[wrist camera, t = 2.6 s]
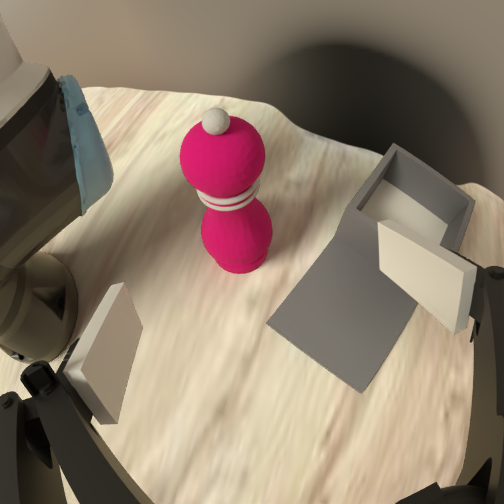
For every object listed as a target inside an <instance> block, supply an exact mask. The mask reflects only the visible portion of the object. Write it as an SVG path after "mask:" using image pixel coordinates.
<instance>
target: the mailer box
mask: <svg viewBox="0 0 504 504" xmlns="http://www.w3.org/2000/svg"><path fill="white" fill-rule="evenodd" d="M474 205H475V200H474V199H472V198H471V197H470V196H469V195H467V194H466V193H465V192H464V191H462V190H461V189H460V188H459V187H457V186H456V185H455V184H453V183H452V182H451V181H449V180H448V179H447V178H445V177H444V176H442V175H441V174H440V173H438V172H437V171H435V170H434V169H433V168H431V167H429V166H428V165H427V164H425V163H424V162H422V161H421V160H419V159H417V158H416V157H415V156H413V155H412V154H410V153H409V152H407V151H405V150H404V149H403V148H401V147H399V146H398V145H396V144H395V143H393V144H392V146H391V147H390V148H389V150H388V151H387V153H386V154H385V155H384V157H383V158H382V160H381V161H380V162H379V164H378V165H377V167H376V168H375V169H374V171H373V172H372V174H371V175H370V176H369V178H368V179H367V180H366V182H365V183H364V184H363V186H362V187H361V189H360V190H359V191H358V193H357V194H356V195H355V197H354V198H353V199H352V201H351V202H350V203H349V205H348V206H347V207H346V209H345V211H344V214H343V216H342V218H341V221H340V223H339V226H338V228H337V231H336V233H335V236H334V237H333V239H332V240H331V241H330V243H329V244H328V245H327V247H326V248H325V249H324V250H323V252H322V253H321V254H320V256H319V257H318V258H317V260H316V261H315V262H314V263H313V265H312V266H311V267H310V269H309V270H308V271H307V273H306V274H305V275H304V276H303V278H302V279H301V280H300V281H299V283H298V284H297V285H296V286H295V288H294V289H293V290H292V292H291V293H290V294H289V295H288V297H287V298H286V299H285V300H284V301H283V303H282V304H281V305H280V306H279V308H278V309H277V310H276V311H275V313H274V314H273V315H272V316H271V317H270V319H269V320H268V321H267V322H266V324H267V325H269V326H270V327H271V328H272V329H274V330H275V331H276V332H278V333H279V334H280V335H282V336H283V337H284V338H286V339H287V340H288V341H289V342H291V343H292V344H293V345H295V346H296V347H297V348H299V349H300V350H301V351H303V352H304V353H305V354H307V355H308V356H309V357H311V358H312V359H313V360H315V361H316V362H318V363H319V364H320V365H322V366H323V367H324V368H326V369H327V370H328V371H330V372H331V373H333V374H334V375H335V376H337V377H338V378H340V379H341V380H342V381H344V382H345V383H346V384H348V385H349V386H351V387H352V388H354V389H355V390H356V391H358V392H359V393H362V392H363V391H364V389H365V388H366V387H367V385H368V384H369V382H370V381H371V379H372V378H373V376H374V375H375V373H376V372H377V370H378V369H379V367H380V366H381V364H382V363H383V361H384V360H385V358H386V357H387V355H388V353H389V352H390V350H391V349H392V347H393V345H394V344H395V342H396V340H397V339H398V337H399V335H400V334H401V332H402V330H403V329H404V327H405V325H406V323H407V322H408V320H409V318H410V316H411V314H412V313H413V311H414V309H415V307H416V305H417V303H418V302H417V301H416V300H415V299H414V298H412V297H411V296H410V295H409V294H408V293H407V292H405V291H404V290H403V289H402V288H401V287H400V286H398V285H397V284H396V283H395V282H394V281H393V280H391V279H390V278H389V277H388V276H387V275H385V274H384V273H383V272H382V271H381V270H380V266H379V239H378V222H380V221H384V220H388V219H390V220H392V221H394V222H396V223H398V224H400V225H402V226H404V227H406V228H408V229H410V230H412V231H414V232H416V233H418V234H419V235H421V236H423V237H425V238H427V239H429V240H431V241H433V242H434V243H436V244H438V245H440V246H442V247H443V248H446V249H449V250H453V251H455V252H457V253H458V250H459V248H460V245H461V242H462V240H463V237H464V234H465V232H466V229H467V226H468V223H469V220H470V217H471V214H472V211H473V208H474Z"/></svg>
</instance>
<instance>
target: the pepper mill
mask: <svg viewBox="0 0 504 504" xmlns="http://www.w3.org/2000/svg"><path fill="white" fill-rule="evenodd" d="M264 162H265V149H264V144H263V141H262V139H261V137H260V135H259V133H258V132H257V130H256V129H255V128H254V127H253V126H252V125H251V124H249V123H248V122H246V121H245V120H243V119H240V118H238V117H234V116H229V115H228V113H227V112H226V111H224V110H222V109H220V108H213V109H210V110H208V111H207V112H206V113H205V114H204V115H203V118H202V121H201V122H199V123H197V124H196V125H195V126H194V127H193V128H191V129H190V131H189V132H188V133H187V135H186V136H185V138H184V140H183V143H182V145H181V150H180V164H181V168H182V171H183V174H184V176H185V177H186V179H187V181H188V182H189V183H190V184H191V185H192V186H193V187H194V188H196V190H197V193H198V196H199V198H200V200H201V201H202V202H203V203H204V204H205V205H206V206H208V208H207V210H206V211H205V214H204V216H203V220H202V225H201V235H202V239H203V243H204V246H205V248H206V250H207V251H208V253H209V254H210V255H211V256H212V257H213V258H215V260H216V262H217V263H218V264H219V266H220V267H222V268H223V269H224V270H226V271H228V272H231V273H236V274H242V273H248V272H251V271H253V270H255V269H256V268H258V267H259V266H260V265H261V264H262V262H263V261H264V260H265V258H266V255H267V251H268V247H269V245H270V242H271V239H272V224H271V219H270V216H269V214H268V212H267V210H266V209H265V207H264V206H263V205H262V203H261V202H260V201H259V200H257V199H256V198H255V196H256V194H257V192H258V189H259V183H260V182H259V175H260V174H261V172H262V170H263V166H264Z"/></svg>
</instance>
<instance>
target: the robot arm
mask: <svg viewBox="0 0 504 504" xmlns="http://www.w3.org/2000/svg"><path fill="white" fill-rule="evenodd" d="M88 109H89V107H88V105H87V103H86V100H85V97H84V94H83V92H82V90H81V88H80V86H79V84H78V82H77V80H76V79H75V78H74V77H73V76H72V75H67V76H61V77H60V78H58V79H57V81H56V80H55V78H54V76H53V74H52V72H51V70H50V68H49V67H48V65H44V64H37V63H29V62H25V61H24V60H23V59H22V57H21V55H20V53H19V51H18V49H17V48H16V46H15V44H14V42H13V40H12V38H11V36H10V34H9V32H8V29H7V27H6V26H5V23H4V21H3V19H2V17H1V15H0V349H1V350H3V351H4V352H5V353H6V354H8V355H9V356H10V357H12V358H13V359H15V360H17V361H19V362H23V363H27V364H31V365H29V366H28V367H27V368H26V369H25V370H24V371H23V372H22V374H21V378H20V380H21V382H22V383H23V385H24V386H25V387H26V389H27V390H28V392H29V393H30V394H31V396H32V397H31V398H28V399H25V400H22V399H21V398H20V397H19V395H18V394H17V393H16V392H12V391H11V392H7V393H5V394H3V395H1V396H0V504H67V501H66V496H65V492H64V488H63V483H62V478H61V473H60V467H61V469H62V471H63V473H64V475H65V477H66V479H67V481H68V483H69V485H70V487H71V489H72V491H73V492H74V494H75V496H76V498H77V500H78V501H79V503H80V504H154V503H153V502H152V501H151V500H150V499H149V497H148V496H147V495H146V494H145V493H144V492H143V491H142V489H141V488H140V487H139V486H138V485H137V484H136V482H135V481H134V480H133V479H132V478H131V476H130V475H129V474H128V473H127V471H126V470H125V469H124V468H123V466H122V465H121V464H120V462H119V461H118V460H117V458H116V457H115V456H114V454H113V453H112V452H111V450H110V449H109V448H108V446H107V445H106V443H105V442H104V441H103V439H102V438H101V436H100V435H99V433H98V432H97V430H96V429H95V427H94V426H93V425H92V424H91V419H92V416H94V417H95V418H96V419H97V421H98V422H99V423H100V424H101V425H104V424H118V419H119V415H120V411H121V407H122V403H123V399H124V395H125V391H126V387H127V383H128V379H129V375H130V372H131V368H132V364H133V361H134V357H135V354H136V350H137V347H138V343H139V340H140V336H141V333H142V330H143V326H142V324H141V321H140V319H139V317H138V314H137V312H136V310H135V307H134V305H133V302H132V300H131V297H130V295H129V292H128V290H127V287H126V285H125V282H122V283H118V284H114V285H111V286H110V288H109V289H108V291H107V293H106V294H105V296H104V298H103V299H102V301H101V303H100V304H99V306H98V308H97V310H96V311H95V313H94V315H93V317H92V318H91V320H90V322H89V324H88V325H87V327H86V329H85V331H84V332H83V334H82V336H81V338H78V339H77V340H76V341H75V342H74V343H73V344H72V345H71V346H70V348H69V350H68V352H67V355H65V357H64V359H63V360H64V361H62V363H61V365H60V366H59V368H58V370H57V372H56V374H55V373H54V371H53V369H52V368H51V366H50V365H49V363H48V362H49V361H51V360H53V359H54V358H55V357H57V356H58V355H59V354H60V353H61V351H62V350H63V349H64V348H65V346H66V345H67V343H68V341H69V339H70V337H71V335H72V332H73V329H74V326H75V322H76V318H77V310H78V296H77V289H76V285H75V281H74V279H73V276H72V274H71V273H70V271H69V270H68V268H67V267H66V266H65V265H64V264H63V263H62V262H60V261H59V260H57V259H56V258H55V257H53V256H52V255H50V254H47V253H44V252H39V250H40V249H41V248H42V247H43V246H44V245H45V244H47V243H48V242H49V241H50V240H51V239H52V238H53V237H55V236H56V235H57V234H58V233H59V232H60V231H62V230H63V229H64V228H65V227H66V226H68V225H69V224H70V223H71V222H73V221H74V220H75V219H76V218H78V217H79V216H83V215H85V213H86V211H87V209H88V208H89V207H91V206H92V205H93V204H94V203H95V202H97V201H98V200H99V199H100V198H101V197H103V196H104V195H105V194H106V193H107V192H108V191H109V190H110V188H111V185H112V182H113V176H114V173H113V168H112V164H111V161H110V158H109V155H108V152H107V150H106V147H105V145H104V142H103V139H102V137H101V134H100V132H99V129H98V127H97V125H96V122H95V120H94V118H93V115H92V113H91V112H90V111H89V110H88ZM378 239H379V266H380V270H381V271H382V272H383V273H384V274H385V275H387V276H388V277H389V278H390V279H391V280H393V281H394V282H395V283H396V284H397V285H398V286H400V287H401V288H402V289H403V290H404V291H405V292H407V293H408V294H409V295H410V296H411V297H412V298H414V299H415V300H416V301H417V302H418V303H419V304H420V305H422V306H423V307H424V308H425V309H426V310H427V311H428V312H429V313H431V314H432V315H433V316H434V317H435V318H436V319H437V320H438V321H439V322H440V323H442V324H443V325H444V326H445V327H446V328H447V329H448V330H449V331H450V332H451V333H452V334H453V335H454V334H456V333H458V332H460V331H462V330H464V329H466V328H467V324H468V320H469V315H470V316H471V317H472V318H474V319H475V322H474V326H473V331H472V335H471V339H470V342H472V341H473V339H474V376H473V395H472V408H471V418H470V427H469V435H468V442H467V448H466V454H465V459H464V464H463V468H462V471H461V474H460V476H459V478H458V480H457V483H456V485H455V486H450V487H445V488H441V489H440V487H439V485H438V484H437V482H435V483H433V484H431V485H430V486H428V487H426V488H424V489H422V490H420V491H418V492H416V493H414V494H412V495H410V496H408V497H406V498H404V499H402V500H400V501H398V502H397V503H395V504H504V268H502V267H498V266H490V267H487V268H485V269H484V268H483V267H481V266H479V265H478V264H476V263H474V262H472V261H471V260H469V259H467V258H465V257H464V256H461V255H460V254H458V253H457V252H455V251H453V250H449V249H446V248H443V247H442V246H440V245H438V244H436V243H434V242H433V241H431V240H429V239H427V238H425V237H423V236H421V235H419V234H418V233H416V232H414V231H412V230H410V229H408V228H406V227H404V226H402V225H400V224H398V223H396V222H394V221H392V220H390V219H388V220H384V221H380V222H378ZM59 465H60V467H59Z"/></svg>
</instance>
